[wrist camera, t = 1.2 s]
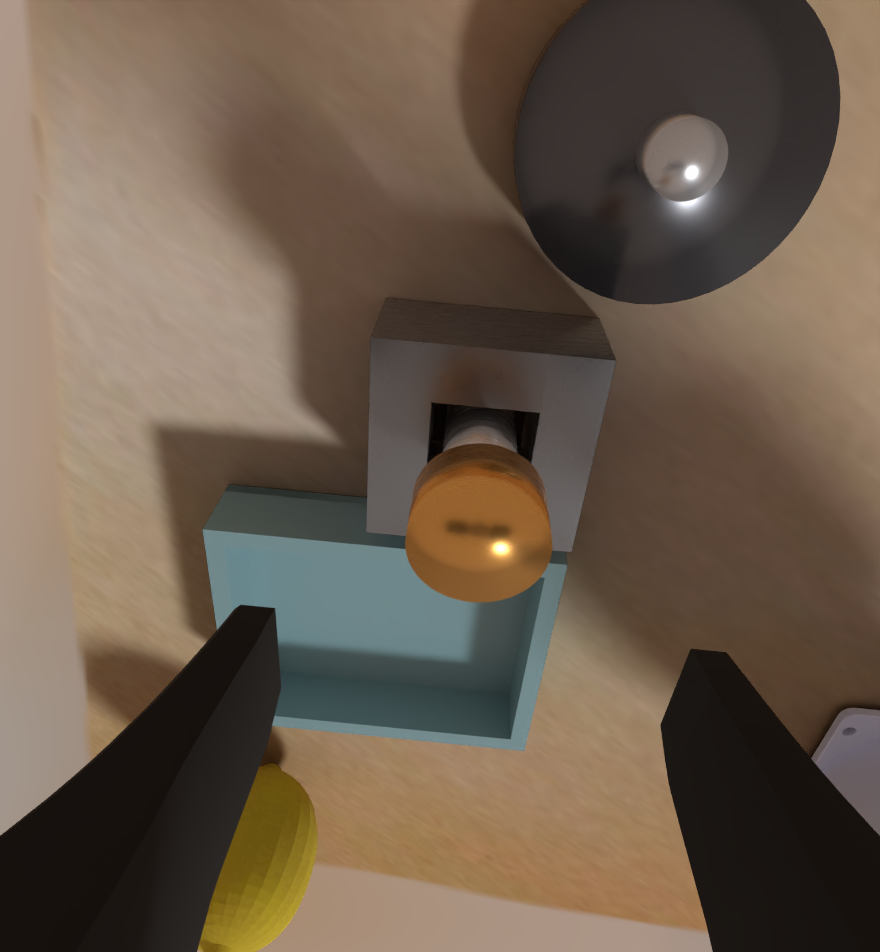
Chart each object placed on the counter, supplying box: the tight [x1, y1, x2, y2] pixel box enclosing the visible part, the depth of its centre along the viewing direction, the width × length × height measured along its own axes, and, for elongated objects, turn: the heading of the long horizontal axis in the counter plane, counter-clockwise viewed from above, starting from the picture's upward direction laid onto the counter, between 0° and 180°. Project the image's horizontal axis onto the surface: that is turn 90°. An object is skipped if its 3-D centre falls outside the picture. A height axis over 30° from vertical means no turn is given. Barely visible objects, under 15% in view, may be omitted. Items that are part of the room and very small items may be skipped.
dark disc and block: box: [366, 0, 840, 552], centre depth 17 cm, size 14×10×3 cm
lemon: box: [198, 763, 318, 952], centre depth 28 cm, size 6×6×8 cm
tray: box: [203, 484, 568, 751], centre depth 24 cm, size 9×11×2 cm
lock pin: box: [405, 404, 552, 603], centre depth 18 cm, size 3×3×7 cm
